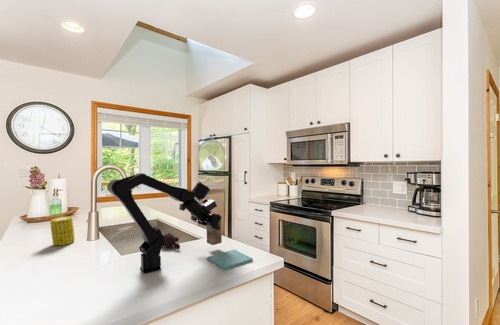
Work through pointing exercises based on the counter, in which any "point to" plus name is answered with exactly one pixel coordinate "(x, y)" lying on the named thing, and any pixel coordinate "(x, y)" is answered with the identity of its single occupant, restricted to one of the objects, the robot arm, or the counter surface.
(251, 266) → the counter surface
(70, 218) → the food
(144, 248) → the robot arm
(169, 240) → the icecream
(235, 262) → the teal board
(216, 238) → the walnut pillar
